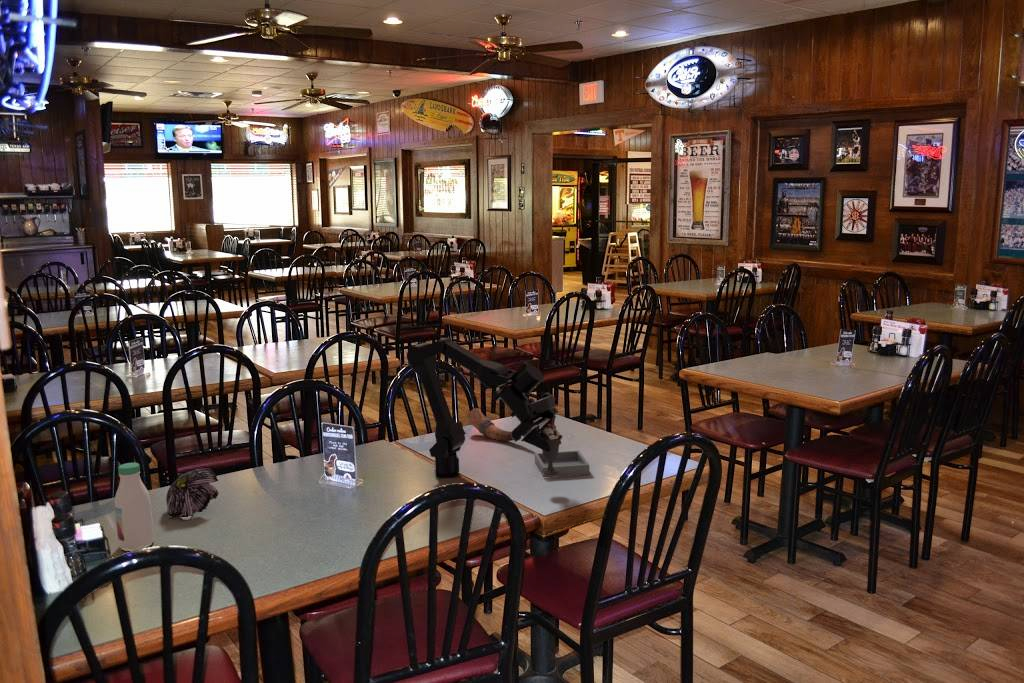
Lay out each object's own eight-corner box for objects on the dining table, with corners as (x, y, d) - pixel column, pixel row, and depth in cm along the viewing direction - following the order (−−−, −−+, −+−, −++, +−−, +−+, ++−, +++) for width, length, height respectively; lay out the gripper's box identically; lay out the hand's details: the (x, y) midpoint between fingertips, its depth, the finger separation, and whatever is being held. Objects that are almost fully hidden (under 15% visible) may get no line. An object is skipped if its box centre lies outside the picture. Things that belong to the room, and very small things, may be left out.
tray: (543, 477, 238) (543, 467, 238) (534, 462, 252) (534, 453, 251) (589, 474, 240) (589, 464, 240) (578, 459, 253) (578, 450, 253)
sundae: (561, 467, 230) (561, 415, 227) (563, 475, 223) (563, 421, 220) (537, 468, 229) (537, 415, 227) (539, 476, 223) (539, 422, 220)
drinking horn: (475, 430, 287) (474, 402, 285) (538, 447, 267) (537, 417, 265) (464, 433, 283) (463, 405, 281) (526, 451, 263) (526, 420, 261)
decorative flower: (146, 477, 216) (201, 450, 223) (159, 509, 222) (213, 482, 230) (166, 506, 206) (223, 477, 214) (179, 539, 212) (234, 510, 220)
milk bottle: (159, 538, 201) (151, 459, 197) (147, 552, 193) (138, 470, 190) (127, 539, 201) (119, 460, 197) (113, 553, 193) (104, 471, 189)
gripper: (521, 392, 216) (559, 439, 212) (551, 378, 232) (588, 421, 229) (494, 418, 221) (532, 464, 218) (526, 402, 237) (561, 444, 234)
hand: (554, 447), depth 224 cm, fingers closed on sundae, 6 cm apart
